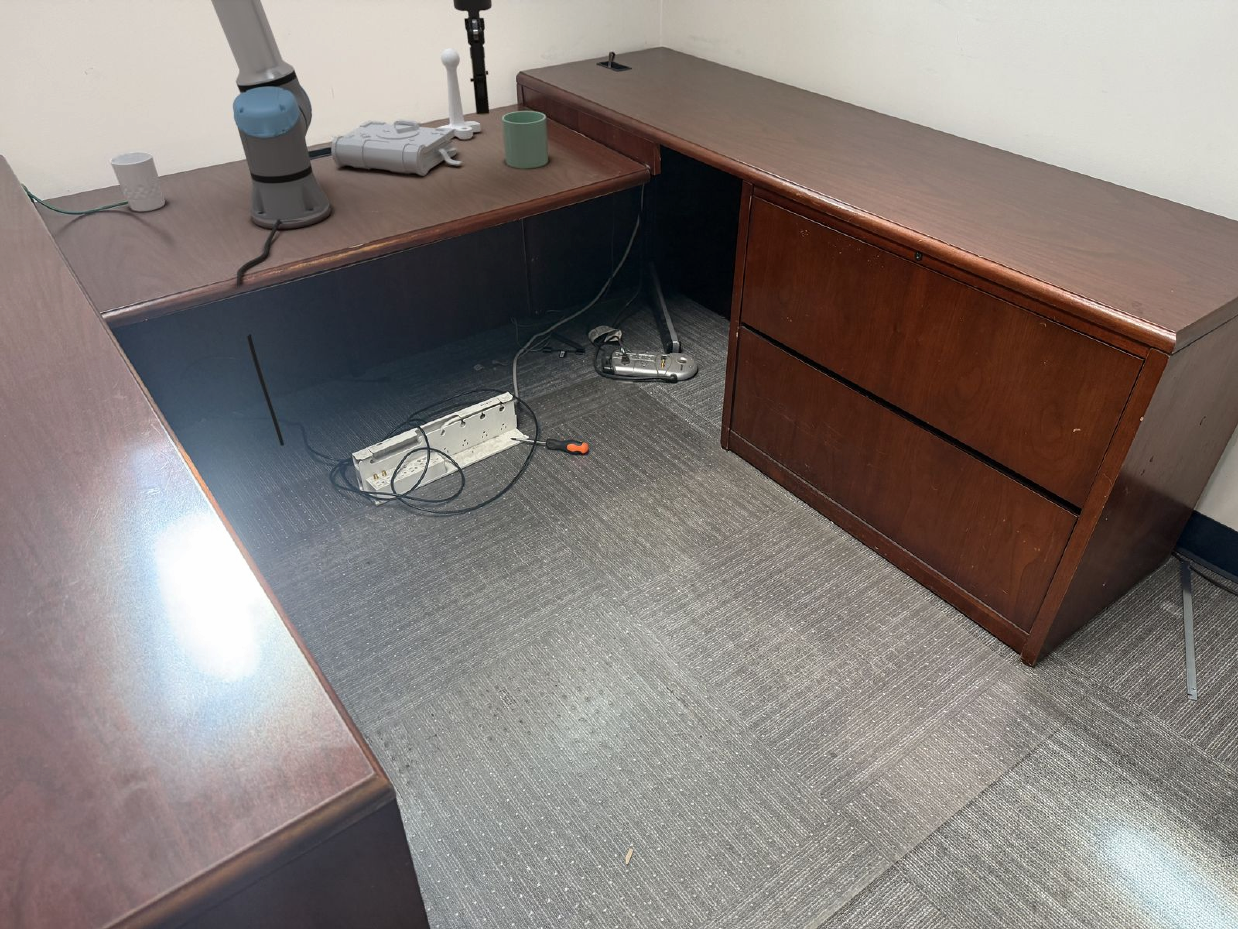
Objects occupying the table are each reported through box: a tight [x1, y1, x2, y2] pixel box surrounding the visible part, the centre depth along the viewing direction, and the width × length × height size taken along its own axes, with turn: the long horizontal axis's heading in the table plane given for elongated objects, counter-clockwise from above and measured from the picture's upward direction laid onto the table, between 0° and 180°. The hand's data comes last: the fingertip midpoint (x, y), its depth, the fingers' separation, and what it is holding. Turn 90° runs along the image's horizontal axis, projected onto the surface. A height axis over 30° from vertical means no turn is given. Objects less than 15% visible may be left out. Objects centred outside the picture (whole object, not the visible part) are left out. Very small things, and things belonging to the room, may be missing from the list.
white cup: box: [109, 151, 166, 212], centre depth 175 cm, size 8×8×10 cm
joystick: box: [437, 48, 482, 140], centre depth 208 cm, size 11×8×20 cm
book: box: [330, 118, 463, 177], centre depth 197 cm, size 19×28×8 cm
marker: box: [469, 46, 490, 116], centre depth 177 cm, size 3×3×13 cm
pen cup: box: [501, 110, 549, 169], centre depth 196 cm, size 10×10×10 cm
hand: (482, 110), depth 181 cm, fingers closed on marker, 3 cm apart
